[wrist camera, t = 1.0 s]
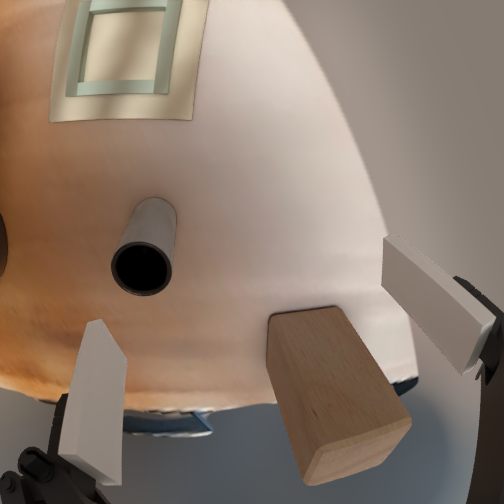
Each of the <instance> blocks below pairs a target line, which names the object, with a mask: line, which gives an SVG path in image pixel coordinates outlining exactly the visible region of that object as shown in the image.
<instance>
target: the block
mask: <svg viewBox="0 0 504 504" xmlns="http://www.w3.org/2000/svg"><path fill="white" fill-rule="evenodd" d="M266 367H267V370H268V374H269V377H270V380H271V383H272V386H273V390H274V393H275V396H276V399H277V402H278V406H279V408H280V412H281V415H282V418H283V421H284V425H285V428H286V431H287V434H288V437H289V440H290V443H291V446H292V449H293V452H294V456H295V459H296V462H297V465H298V468H299V471H300V474H301V477H302V480H303V481H304V482H305V483H306V485H312V486H315V485H318V484H322V483H326V482H329V481H332V480H336V479H339V478H342V477H346V476H349V475H352V474H354V473H357V472H360V471H363V470H366V469H369V468H371V467H374V466H377V465H379V464H381V463H382V462H383V461H384V460H385V459H386V458H387V456H388V455H389V454H390V453H391V452H392V450H393V449H394V448H395V447H396V445H397V444H398V443H399V441H400V440H401V439H402V438H403V436H404V435H405V434H406V432H407V431H408V430H409V428H410V427H411V424H412V421H411V417H410V415H409V413H408V412H407V410H406V409H405V407H404V405H403V404H402V402H401V400H400V399H399V397H398V396H397V394H396V392H395V391H394V389H393V388H392V386H391V384H390V383H389V381H388V380H387V378H386V377H385V375H384V373H383V372H382V370H381V369H380V367H379V366H378V364H377V362H376V361H375V359H374V358H373V356H372V355H371V353H370V352H369V350H368V349H367V347H366V346H365V344H364V343H363V341H362V339H361V338H360V336H359V335H358V333H357V332H356V330H355V329H354V327H353V326H352V324H351V323H350V321H349V320H348V318H347V317H346V315H345V314H344V312H343V311H342V310H341V309H340V308H338V307H330V308H323V309H316V310H309V311H302V312H294V313H286V314H278V315H274V316H272V317H271V319H270V321H269V331H268V347H267V363H266Z"/></svg>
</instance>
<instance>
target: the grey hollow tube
mask: <svg viewBox="0 0 504 504" xmlns="http://www.w3.org/2000/svg"><path fill="white" fill-rule="evenodd" d="M176 223H177V219H176V213H175V210H174V209H173V207H172V206H171V205H170V204H169V203H168V202H167V201H165V200H163V199H160V198H149V199H146V200H144V201H142V202H141V203H140V204H139V205H138V206H137V207H136V208H135V210H134V212H133V214H132V216H131V218H130V220H129V222H128V224H127V226H126V229H125V231H124V233H123V235H122V237H121V239H120V242H119V244H118V246H117V248H116V251H115V253H114V255H113V258H112V261H111V271H112V275H113V277H114V279H115V281H116V282H117V284H118V285H119V286H120V287H121V288H122V289H124V290H125V291H127V292H128V293H131V294H133V295H137V296H151V295H154V294H157V293H159V292H160V291H162V290H163V289H164V288H165V287H166V286H167V285H168V283H169V282H170V280H171V276H172V269H173V256H174V244H175V233H176Z"/></svg>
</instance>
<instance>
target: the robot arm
mask: <svg viewBox="0 0 504 504" xmlns="http://www.w3.org/2000/svg"><path fill="white" fill-rule="evenodd" d="M6 260H7V239H6V233H5V228H4V224H3V221H2V218H1V216H0V276H1V274H2V273H3V270H4V268H5V264H6ZM381 285H382V286H383V288H384V289H385V290H386V291H387V292H388V293H389V294H390V295H391V296H392V297H393V298H394V299H395V300H396V301H397V303H398V304H399V305H400V306H401V307H402V308H403V309H404V310H405V311H406V312H407V314H408V315H409V316H410V317H411V318H412V319H413V320H414V321H415V322H416V324H417V325H418V326H419V327H420V328H421V329H422V330H423V331H424V333H425V334H426V335H427V336H428V337H429V338H430V340H431V341H432V342H433V343H434V344H435V345H436V347H437V348H438V349H439V350H440V351H441V352H442V354H443V355H444V356H445V357H446V358H447V359H448V361H449V362H450V363H451V364H452V366H453V367H454V368H455V369H456V370H457V372H458V373H459V374H460V375H461V376H462V375H464V374H465V373H467V372H468V371H470V370H471V369H473V368H474V367H475V365H476V363H477V361H478V359H479V358H480V359H481V360H482V361H483V363H482V365H481V367H480V369H479V371H478V373H477V375H476V378H475V380H477V379H478V378H479V376H480V374H481V403H480V420H479V430H478V440H477V448H476V456H475V462H474V468H473V474H472V479H471V485H470V489H469V493H468V498H467V502H466V504H504V313H503V312H502V311H501V310H500V309H499V308H498V307H496V305H494V304H493V303H492V302H491V301H490V300H489V299H488V298H487V297H485V296H484V295H482V294H481V292H480V291H478V290H477V289H475V287H474V286H473V285H471V284H470V283H469V282H468V281H467V280H464V279H462V278H460V277H457V276H455V277H453V278H452V277H450V276H449V275H448V274H447V273H446V272H444V271H443V270H442V269H441V268H439V267H438V266H437V265H436V264H435V263H433V262H432V261H431V260H429V259H428V258H427V257H426V256H424V255H423V254H422V253H421V252H419V251H418V250H417V249H416V248H414V247H413V246H412V245H411V244H409V243H408V242H406V241H405V240H404V239H402V238H401V237H400V236H399V235H397V234H394V235H391V236H387V237H384V238H383V264H382V283H381ZM127 361H128V360H127V358H126V357H125V355H124V354H123V352H122V351H121V349H120V348H119V346H118V345H117V343H116V341H115V340H114V338H113V337H112V335H111V333H110V332H109V330H108V329H107V327H106V325H105V324H104V322H103V320H102V319H98V320H94V321H90V322H87V325H86V329H85V332H84V335H83V339H82V342H81V346H80V349H79V353H78V357H77V361H76V365H75V369H74V373H73V377H72V381H71V385H70V390H69V393H67V394H62V396H61V397H60V399H59V401H58V403H57V404H56V409H55V413H54V416H55V417H54V419H53V423H52V424H53V426H52V428H51V434H50V440H49V445H48V451H47V454H45V453H44V452H43V451H41V450H40V449H39V448H36V447H28V448H27V449H25V450H24V451H23V452H22V453H21V455H20V457H19V459H18V470H19V472H20V473H21V474H23V475H24V476H20V475H18V474H17V473H16V472H13V471H7V472H5V473H4V474H3V475H2V477H1V478H0V495H1V500H2V504H111V503H110V502H109V501H108V500H107V499H106V497H105V496H104V495H103V494H102V493H101V491H100V490H98V488H96V487H95V483H96V480H97V481H98V482H100V483H101V484H103V485H121V451H122V425H123V407H124V393H125V382H126V371H127Z"/></svg>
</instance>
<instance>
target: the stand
mask: <svg viewBox="0 0 504 504" xmlns="http://www.w3.org/2000/svg"><path fill="white" fill-rule="evenodd" d="M208 2H209V0H66V1H65V6H64V10H63V14H62V19H61V24H60V29H59V34H58V39H57V45H56V52H55V59H54V66H53V75H52V84H51V96H50V112H49V123H50V122H61V121H74V120H91V119H125V118H146V119H181V120H192V112H193V103H194V94H195V86H196V78H197V70H198V63H199V56H200V49H201V43H202V36H203V30H204V24H205V18H206V13H207V7H208Z"/></svg>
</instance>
